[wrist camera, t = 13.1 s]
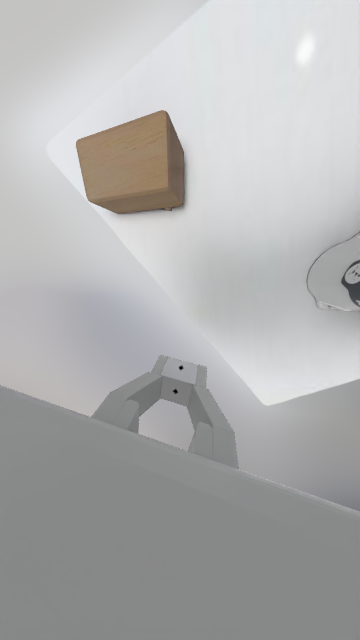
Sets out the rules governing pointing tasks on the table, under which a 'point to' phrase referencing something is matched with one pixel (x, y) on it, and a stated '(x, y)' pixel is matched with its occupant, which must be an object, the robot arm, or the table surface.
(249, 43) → the table surface
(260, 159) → the table surface
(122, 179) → the wooden block
